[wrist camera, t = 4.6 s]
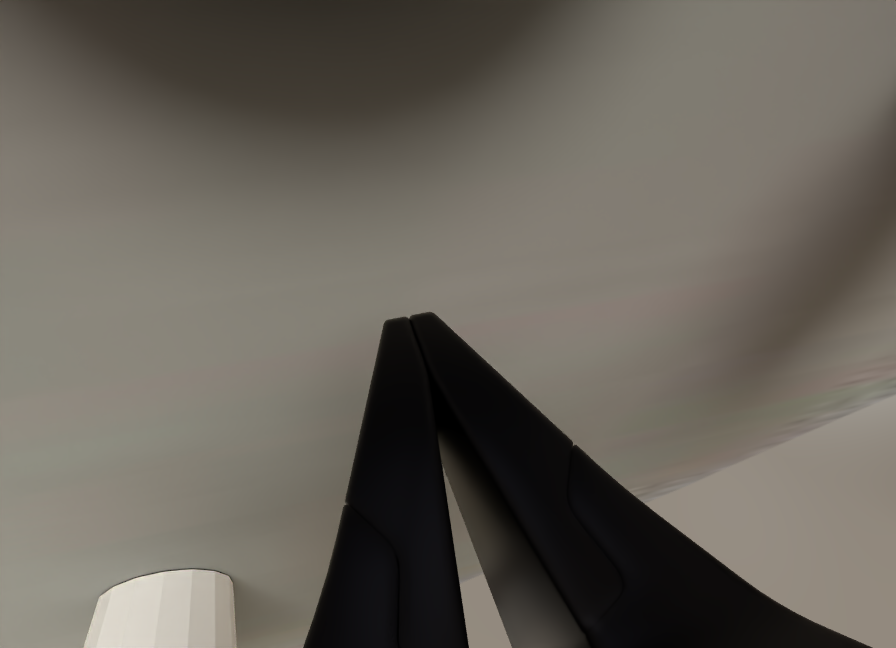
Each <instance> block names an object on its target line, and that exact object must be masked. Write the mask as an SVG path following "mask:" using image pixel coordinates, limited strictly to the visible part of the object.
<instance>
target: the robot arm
mask: <svg viewBox="0 0 896 648" xmlns="http://www.w3.org/2000/svg"><path fill="white" fill-rule="evenodd" d="M441 461H442V462H441ZM442 464H443V467H444V469H445V472H446V475H447V477H448V480H449V483H450V485H451V488H452V490H453V493H454V496H455V498H456V501H457V504H458V506H459V509H460V512H461V514H462V517H463V519H464V522H465V525H466V527H467V530H468V533H469V535H470V538H471V541H472V543H473V546H474V548H475V551H476V554H477V556H478V559H479V562H480V564H481V567H482V570H483V572H484V575H485V577H486V580H487V583H488V585H489V588H490V590H491V593H492V596H493V599H494V601H495V604H496V606H497V609H498V612H499V614H500V617H501V619H502V622H503V625H504V627H505V630H506V632H507V635H508V638H509V641H510V643H511V646H512V648H872V647H870V646H867V645H865V644H863V643H860V642H858V641H856V640H854V639H851V638H849V637H847V636H844V635H842V634H840V633H837V632H835V631H833V630H831V629H828V628H826V627H824V626H821V625H819V624H817V623H815V622H813V621H811V620H809V619H807V618H805V617H803V616H801V615H799V614H797V613H795V612H793V611H791V610H790V609H788V608H786V607H784V606H783V605H781V604H779V603H778V602H776V601H774V600H773V599H771V598H769V597H768V596H766V595H765V594H763V593H762V592H760V591H759V590H757V589H756V588H754V587H753V586H752V585H750V584H749V583H748V582H746V581H745V580H744V579H742V578H741V577H739V576H738V575H737V574H735V573H734V572H733V571H731V570H730V569H729V568H728V567H726V566H725V565H724V564H722V563H721V562H720V561H718V560H717V559H716V558H714V557H713V556H712V555H711V554H709V553H708V552H707V551H705V550H704V549H703V548H701V547H700V546H699V545H697V544H696V543H695V542H693V541H692V540H691V539H689V538H688V537H687V536H686V535H684V534H683V533H682V532H680V531H679V530H678V529H676V528H675V527H674V526H672V525H671V524H670V523H668V522H667V521H666V520H664V519H663V518H662V517H660V516H659V515H658V514H657V513H655V512H654V511H653V510H651V509H650V508H649V507H648V506H647V505H645V504H644V503H643V502H641V501H640V500H639V499H638V498H636V497H635V496H634V495H633V494H631V493H630V492H629V491H628V490H626V489H625V488H624V487H623V486H622V485H620V484H619V483H618V482H617V481H616V480H615V479H614V478H612V477H611V476H610V475H609V474H608V473H607V472H606V471H604V470H603V469H602V468H601V467H600V466H599V465H598V464H596V463H595V462H594V461H593V460H592V459H591V458H590V457H589V456H588V455H587V454H586V453H585V452H584V451H583V450H581V449H580V448H579V447H578V446H577V445H574V446H573V442H572V441H571V440H570V439H569V438H568V437H567V436H566V435H565V434H564V433H563V432H562V431H561V430H560V429H559V428H557V427H556V426H555V425H554V424H553V423H552V422H551V421H550V420H549V419H548V418H547V417H546V416H545V415H543V414H542V413H541V412H540V411H539V410H538V409H537V408H536V407H535V406H534V405H533V404H532V403H530V402H529V401H528V400H527V399H526V398H525V397H524V396H523V395H522V394H521V393H520V392H519V391H518V390H516V389H515V388H514V387H513V386H512V385H511V384H510V383H509V382H508V381H507V380H506V379H505V378H503V377H502V376H501V375H500V374H499V373H498V372H497V371H496V370H495V369H494V368H493V367H492V366H491V365H489V364H488V363H487V362H486V361H485V360H484V359H483V358H482V357H481V356H480V355H479V354H478V353H476V352H475V351H474V350H473V349H472V348H471V347H470V346H469V345H468V344H467V343H466V342H465V341H464V340H462V339H461V338H460V337H459V336H458V335H457V334H456V333H455V332H454V331H453V330H452V329H451V328H449V327H448V326H447V325H446V324H445V323H444V322H443V321H442V320H441V319H440V318H439V317H438V316H437V315H435V314H434V313H432V312H426V313H421V314H416V315H412V316H411V317H410V318H409V319H408V318H407V317H400V318H395V319H390V320H386V321H385V323H384V326H383V330H382V335H381V339H380V344H379V348H378V353H377V358H376V362H375V367H374V371H373V376H372V380H371V385H370V389H369V394H368V399H367V403H366V408H365V412H364V417H363V421H362V426H361V430H360V435H359V440H358V444H357V449H356V453H355V458H354V462H353V467H352V471H351V476H350V481H349V485H348V490H347V494H346V499H345V503H346V505H345V506H344V507H343V511H342V516H341V520H340V525H339V529H338V533H337V537H336V541H335V545H334V549H333V553H332V557H331V561H330V565H329V569H328V573H327V576H326V579H325V583H324V586H323V589H322V592H321V595H320V599H319V602H318V605H317V608H316V611H315V615H314V618H313V621H312V624H311V627H310V630H309V632H308V635H307V638H306V641H305V644H304V647H303V648H469V645H468V639H467V632H466V625H465V618H464V612H463V604H462V598H461V591H460V584H459V577H458V571H457V564H456V557H455V550H454V543H453V537H452V530H451V523H450V516H449V510H448V503H447V496H446V489H445V482H444V476H443V469H442Z"/></svg>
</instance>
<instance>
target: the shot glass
mask: <svg viewBox="0 0 896 648" xmlns="http://www.w3.org/2000/svg"><path fill="white" fill-rule="evenodd" d="M84 648H237V646H236V628H235V610H234V591H233V582H232V581H231V579H230V577H229V576H227V575H224V574H222V573H219V572H216V571H208V570H196V569H190V570H178V571H165V572H160V573H156V574H151V575H147V576H142V577H138V578H135V579H132V580H129V581H127V582H124V583H122V584H119V585H117V586H114V587H112V588H111V589H110V590H108V591H107V592H105V593H104V594H103V595H101V596H100V597H99V600H98V603H97V606H96V609H95V613H94V616H93V619H92V622H91V625H90V629H89V632H88V635H87V638H86V641H85V645H84Z"/></svg>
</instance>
